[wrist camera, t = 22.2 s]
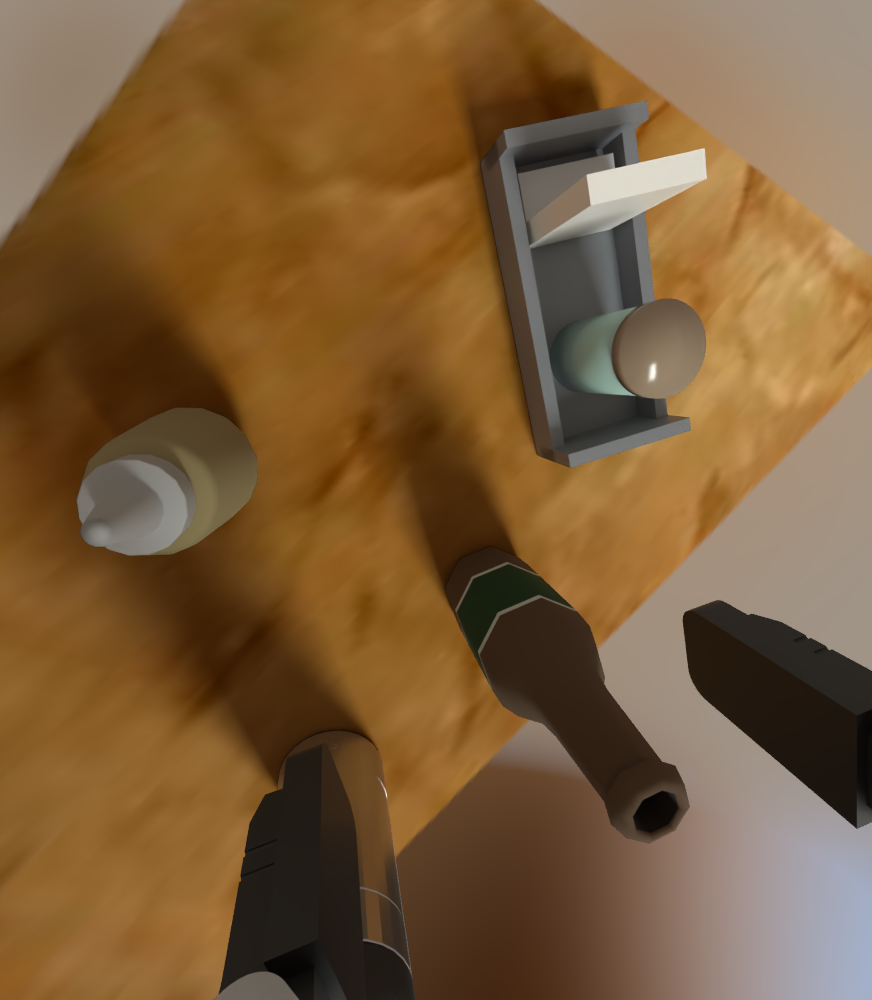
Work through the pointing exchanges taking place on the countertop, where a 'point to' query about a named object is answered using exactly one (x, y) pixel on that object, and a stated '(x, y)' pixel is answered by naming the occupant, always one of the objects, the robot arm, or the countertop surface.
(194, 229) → the countertop surface
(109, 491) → the squeeze bottle
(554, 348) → the jar
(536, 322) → the gray rectangular tray
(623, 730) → the beer bottle
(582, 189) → the pusher
